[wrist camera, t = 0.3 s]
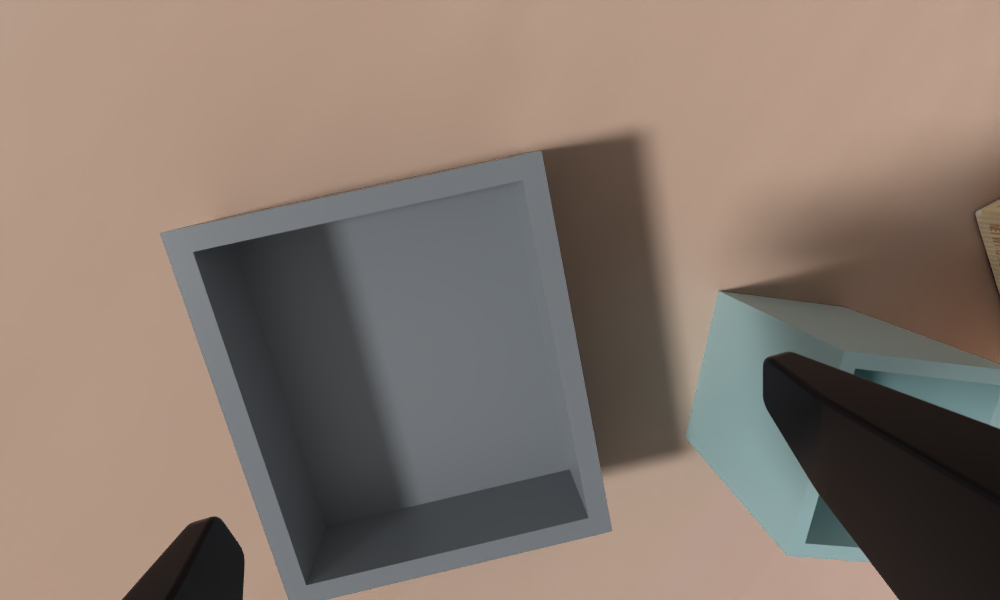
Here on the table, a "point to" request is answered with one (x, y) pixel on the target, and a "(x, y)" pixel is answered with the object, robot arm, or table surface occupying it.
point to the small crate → (757, 440)
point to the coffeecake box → (991, 235)
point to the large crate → (399, 374)
